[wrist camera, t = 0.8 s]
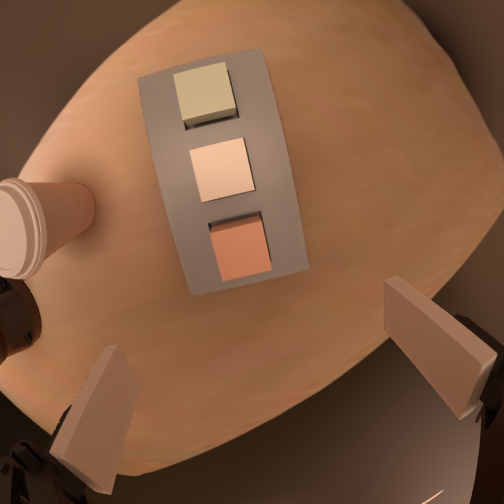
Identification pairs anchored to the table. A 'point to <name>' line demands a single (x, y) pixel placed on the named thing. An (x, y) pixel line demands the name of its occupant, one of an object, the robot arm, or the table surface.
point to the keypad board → (234, 206)
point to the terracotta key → (240, 248)
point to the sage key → (204, 94)
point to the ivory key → (222, 169)
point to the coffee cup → (39, 222)
